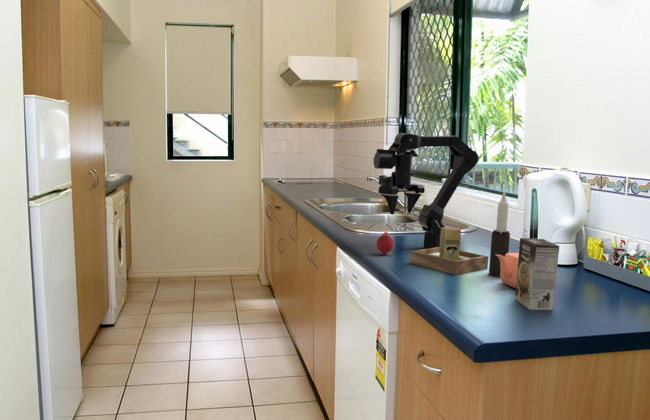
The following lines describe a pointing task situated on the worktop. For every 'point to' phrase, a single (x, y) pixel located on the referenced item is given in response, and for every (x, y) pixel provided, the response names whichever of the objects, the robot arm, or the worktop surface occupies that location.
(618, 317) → the worktop surface
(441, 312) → the worktop surface
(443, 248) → the shoe polish box
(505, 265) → the teapot
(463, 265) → the walnut crate with socket plate
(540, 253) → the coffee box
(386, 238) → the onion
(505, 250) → the candle
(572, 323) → the worktop surface
